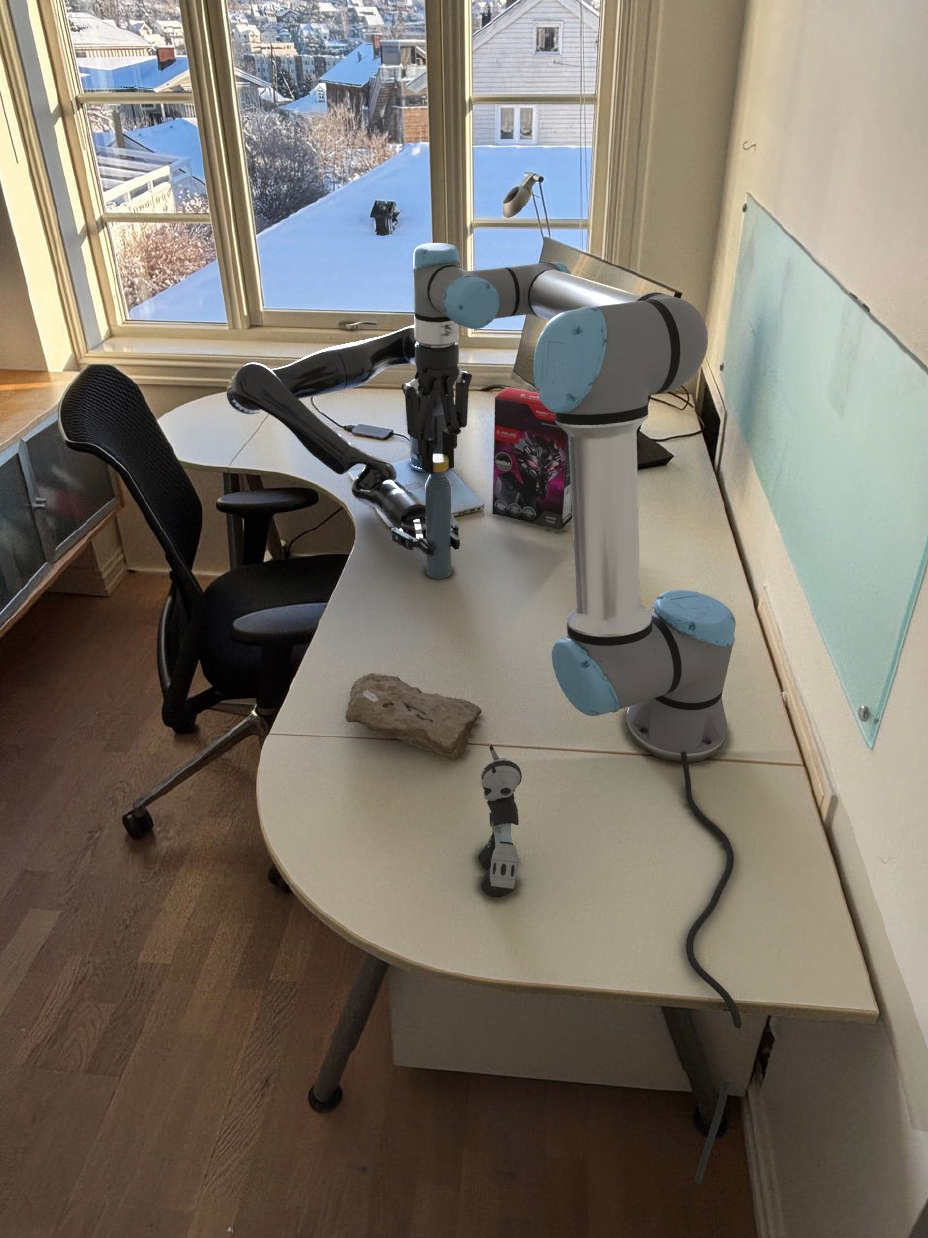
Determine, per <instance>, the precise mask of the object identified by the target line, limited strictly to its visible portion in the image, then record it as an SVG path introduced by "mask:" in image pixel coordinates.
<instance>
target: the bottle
mask: <svg viewBox="0 0 928 1238" xmlns="http://www.w3.org/2000/svg"><path fill="white" fill-rule="evenodd" d="M424 490H425V491H424V496H425V497H424V499H425V500H424V502H425V503H424V504H425V509H426V540H427V541H428V542H430V543H431V544H432V545H433V547H434V556H431V557H430V556H429V555H426V554H425V559H426V561H425V563H426V575H427V576H428V577H430V578H433V579H445V578H448V577H450V575H451V574H452V546H451V514H452V484H451V481H450V479H449V477H448V476H447V474H446V471H443V472H433V474H429V476H428V477H427V479H426V481H425V484H424Z"/></svg>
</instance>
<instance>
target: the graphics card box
mask: <svg viewBox="0 0 928 1238" xmlns="http://www.w3.org/2000/svg"><path fill="white" fill-rule="evenodd" d="M493 429H494V430H493V470H492V471H493V472H492V507H491V508H492V509H491V512H492V513H491V514H492V515H495V516H499V517H504V518H508V519H513V520H516V521H521V522H524V523H529V524H534V525H536V526H540V527H545V528H549V529H553V530H558V531H562V530H563V529H564V528H565V527H566V526H567V525H568V524H569V523H570V522H571V521H573V519H572V499H571V480H570V460H569V441H568V434H567V433H566V432H565V431H564V430H563V429H562V428H561V427H560V426H559V425H557V424H556V420H555V412H552V411H550V410H548V409H547V408H546V407H545V406H544V405H543V404H542V402H541V400H540V398H539V391H538V392H537V391H532V390H528V389H521V388H517V387H512V386H507V387H505V388H503V389H502V390H500V392H498V393H497V394H496V396H494V427H493Z"/></svg>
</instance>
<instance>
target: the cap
mask: <svg viewBox="0 0 928 1238" xmlns="http://www.w3.org/2000/svg"><path fill="white" fill-rule="evenodd" d="M449 469H450V468H449V458H448V456H446V455H444V454H433V472H443V471H445V472H446V471H448V470H449Z"/></svg>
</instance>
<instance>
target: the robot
mask: <svg viewBox="0 0 928 1238" xmlns="http://www.w3.org/2000/svg"><path fill="white" fill-rule="evenodd" d="M489 751H490V754H491V756H492V757H491V758H492V761H491V762H489V763H488V764H487V765H486V766H485V767H484V768H483V769H482V771H481V773H480V779H481V782H480V784H481V788H482V789H483V798H484V799H485V800H486V805H487V806H488V809H489V811H490V812H489V814H488V815H489V816H488V817H489V827H491V829H492V831H491V833H492V834H490V837H489V838H488V842H487V843H486V844H485V846H484V847H483V848H482V850H481V851H480V853H479V855H477V858H478V861H479V862H480V864H481V866H482V867H484V868H485V869H487V870H486V871H485V873H484V875H483V877H482V880H481V884H480V889H482V891H484V893H485V894H486V895H487V896H491V897H495V898H498V897H503V896H505V895H507V894H509V893H511V892H513V891H514V888H515V884H516V881H517V872H518V867H519V855H518V851H517V846H516V845H515V844H514V843H513V840H512V825H515V826H519V825H520V823H519V822H520V820H519V809H518V805H517V803H516V801H515V793H514V792H516V789H517V787H518V786H519V785H520V784H521V783H522V779H523V774H522V770H521V768H520V766H519V765H518V764H517V763H516V762H514V761H512V760H511V759H507V758H506V757H501V758H500V756H499V755H498V753H497V751H496V750H495V748H494V745H493V744H490V745H489Z"/></svg>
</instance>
